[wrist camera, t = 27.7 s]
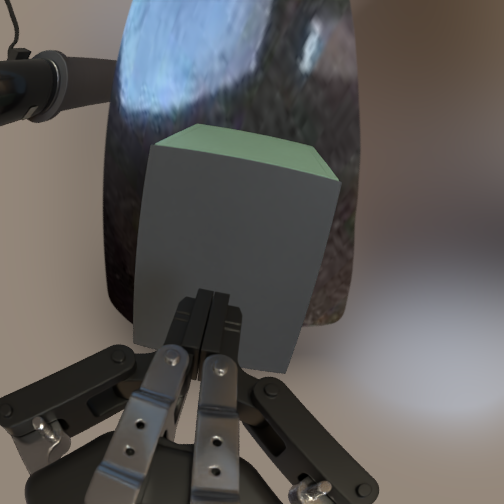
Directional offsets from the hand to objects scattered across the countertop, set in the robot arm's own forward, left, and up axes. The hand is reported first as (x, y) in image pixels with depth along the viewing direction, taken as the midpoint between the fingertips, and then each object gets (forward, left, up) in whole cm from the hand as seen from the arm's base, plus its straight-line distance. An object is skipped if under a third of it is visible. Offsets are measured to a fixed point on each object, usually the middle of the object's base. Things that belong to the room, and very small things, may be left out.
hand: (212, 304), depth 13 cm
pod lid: (+1, -3, -8) cm, 8 cm away
